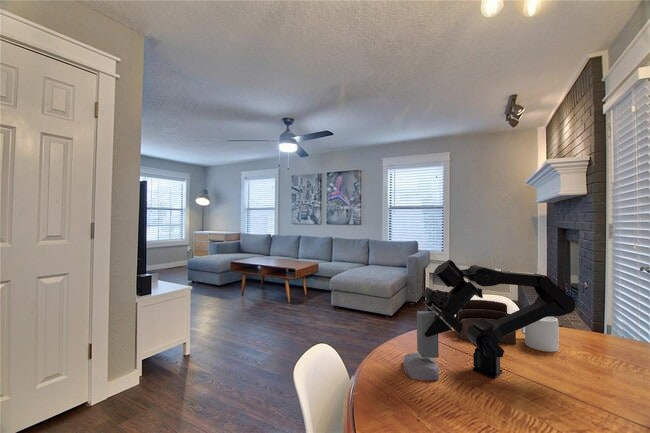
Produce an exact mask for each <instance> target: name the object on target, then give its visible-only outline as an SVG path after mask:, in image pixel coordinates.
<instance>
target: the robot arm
mask: <svg viewBox="0 0 650 433" xmlns="http://www.w3.org/2000/svg"><path fill="white" fill-rule="evenodd" d="M433 274H434V276H436V278H438V279H439V280H440V281H441V282H442V284H444V285H445V287H447V288H450V287H452V288H451V289H450V290H449V291H444V292H443V291H441V290H439V289H436V290H434V289H432V288H431V287H428V286H426V287H425V290H424V291H423V294H422V297H424V298H425V300H424V301H423V303H424V304H425V311H433V312H434V313H435V321H434V322H433V323H432V325H431V326H430V327H429V328H428V330H427V331H426V333H425V336H426V337H430V336H433V335H436V334H438V335H440V334H442V333H447V332H450V331H451V332H453V331H455V332H456V334H458V333H460V332H461V331H462V330H463V324H462V323H461V322H460V321H459V320H458V319H457V318H456V314H457V313H458V312H459V311H460V310H461V309H462V310H463V311H464V310H465V309H466V308H465V307H464V305H465V304H466V303H467V302H468V301H469V300H472V299H473V297H475V296H476V297H477V298H480V299H483V298H484V296H483V289H482V288H481V287H495V286H498V285H499V286H500V285H508V286H509V285H511V286H520V287H522V286H523V287H532V288H534V291H535V294H537V295H538V296H537V297H536V299H535V300H534V302H533V303H532V304H529V305H527V306H525V307H523V308H519V309H518V310H516V311H514V312H512V313H509V315H507V316H505V317H502V318H500V319H498V320H496V321H493V322H489V321H487V320H485V319H484V318H482V319H480V320H479V321H477V322H473V323H472V324H473V325H471V326H469V327H468V330H467V336H468V338H469V340H468V341H470V342H472V345H473V347H476V348H474V352H473V353H472V354H473V355H472V358H473V359H472V361H473V364H472V365H473V368H472V371H473V372H476V373H479V374H482V375H483V376H487V377H488V378H489V377H490V378H492V379H496V378H497V377H499V376H500V375H501V374H502V373H503V369H501V358H503V357H504V353H505V349H504V348H502V347H501V346H500V344H501V343H500V342H501V340H502V339H503V337H504V336H506V335H508V334H510V333H512V332H515V331H516V332H517V331H519V330H521V328H523V327H526V326H528V325H530V324H532V323H534V322H537V321H539V320H541V319H543V318H545V317H554V318H556V317H563V316H566V315H570V314H572V313H574V311H575V310H576V309H575V308H576V300H575V299H574V298H573V297H572V296H571V295H569V294H567V292H566V291H565V290H563V289H562V288H561V287H559V285H557V284H555V282H554V281H553V280H552V279H551V278H550V277H549V276H547V275H544V274H541V273H540V274H539V273H536V272H535V273H529V272H528V273H526V272H516V271H514V272H513V271H504V270H495V269H492V268H488V267H484V266H480V265H476V264H473V265H470V267H468V268H466V269H465V268H464V269H460V268H459V267H458V266H457V265H456V264H455V262H454V261H453V260H451V259H448V260H446V261H445V262H443V263H441V264H439V265H438V266H436V268H435V269H434V271H433ZM465 279H466V280H468V281H466V280H465ZM474 284H475V285H474ZM476 285H478V286H480V287H476Z"/></svg>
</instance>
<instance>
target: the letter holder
mask: <svg viewBox="0 0 650 433" xmlns="http://www.w3.org/2000/svg"><path fill="white" fill-rule="evenodd" d="M464 307H465V308H466V309H465V310H464V311H463V310H462V309H461V310H460V311H459V312H458V313H457V314H456V315H455V317H456V318H457V319H458V320H459V321H460V322H461V323H462V324H463V330H462V331H461V332H460V333H457V335H458V337H459V339H460V340H468V341H470V340H469V338H468V336H467V330H468V327H469V326H471V325H473V324H472V323H473V322H477V321H479V320H480V319H482V318H484V319H485V320H487V321H489V322H493V321H496V320H498V319H500V318H502V317H505V316H507V315H509V314H510V313H508V305H507V303H504V302H501V301H495V300H484V299H470V300H469V301H468V302H467V303H466V304H465V305H464ZM501 343H502V344H514V345H516V344H517V331H515V332H512V333H510V334H508V335H506V336H504V337H503V339H502V340H501V342H500V343H499V344H501Z"/></svg>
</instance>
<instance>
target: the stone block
mask: <svg viewBox="0 0 650 433" xmlns="http://www.w3.org/2000/svg"><path fill="white" fill-rule="evenodd" d="M403 368H404V372H405V374H406V375H407V376H408V377H409V378H410V379H412V380H418V381H419V380H421V381H425V380H427V381H439V379H440V378H439V376H440V373H439V372H440V371H439V365H438V363H437V362H436V361H435V358H422V357H421V355H420V354H419V352H411V353H407V354H405V355H404V359H403Z"/></svg>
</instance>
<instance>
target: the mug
mask: <svg viewBox="0 0 650 433" xmlns="http://www.w3.org/2000/svg"><path fill="white" fill-rule="evenodd" d="M520 331H521V333H522V335H524V344H525V345H526V346H527V347H528V348H531V349H534V350H538V351H540V352H541V351H542V352H548V353H549V352H550V353H554V352H555V353H556V352H558V351H559V350H560V342H559V341H560V340H559V337H560V336H559V332H560V331H559V319H558V318H556V317H545V318H543V319H541V320H539V321H537V322H534V323H532V324H530V325H528V326H526V327H523V328H521V329H520Z"/></svg>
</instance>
